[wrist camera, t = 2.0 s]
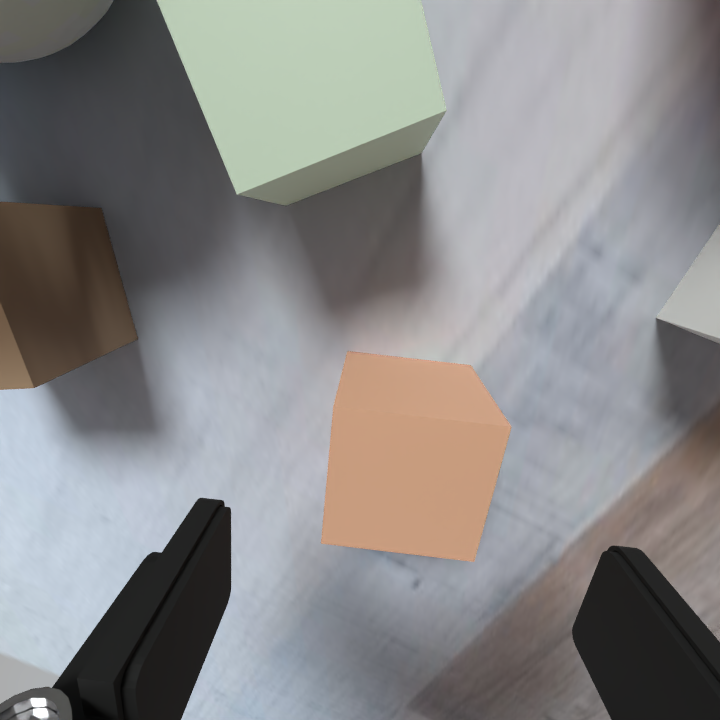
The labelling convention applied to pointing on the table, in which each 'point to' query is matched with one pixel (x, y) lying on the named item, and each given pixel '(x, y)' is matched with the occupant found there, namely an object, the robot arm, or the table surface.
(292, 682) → the table surface
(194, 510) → the robot arm
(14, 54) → the teacup
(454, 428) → the terracotta cube
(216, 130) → the sage green cube
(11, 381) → the walnut cube
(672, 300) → the pale grey cube
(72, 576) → the table surface
